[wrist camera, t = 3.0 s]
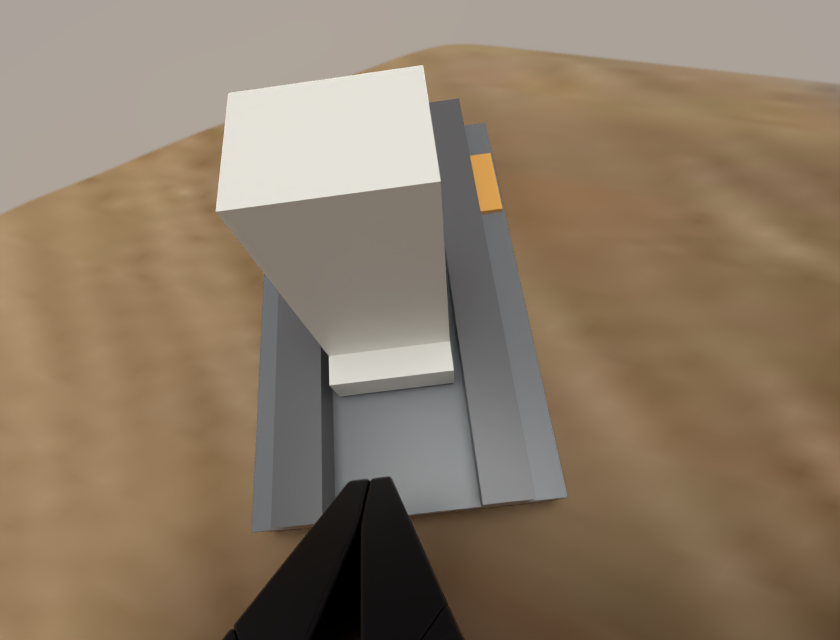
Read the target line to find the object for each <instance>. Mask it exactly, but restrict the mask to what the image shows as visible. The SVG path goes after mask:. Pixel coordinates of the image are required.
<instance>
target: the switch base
mask: <svg viewBox="0 0 840 640" xmlns="http://www.w3.org/2000/svg"><path fill="white" fill-rule="evenodd" d="M429 108H430V114H431V121H432V127H433V134H434V140H435V147H436V153H437V160H438V166H439V173H440V179H441V194H442V211H443V229H444V247H445V265H446V282H447V300H448V318H449V336H450V346H451V353H452V361H453V368H454V383H448V384H440V385H432V386H423V387H415V388H407V389H398V390H390V391H382V392H374V393H365V394H357V395H349V396H341V397H340V396H339V395H338V394H337V393H336V392H335V391H334V390H333V389H332V388H331V387H330V386H329V356H328V354H327V353H326V352H325V351H324V349H323V348H322V347H321V345H320V344H319V343H318V342H317V340H316V339H315V338H314V337H313V335H312V334H311V333H310V331H309V330H308V329H307V328H306V326H305V325H304V324H303V322H302V321H301V320H300V319H299V317H298V316H297V315H296V314H295V312H294V311H293V310H292V308H291V307H290V306H289V305H288V303H287V302H286V301H285V300H284V298H283V297H282V296H281V294H280V293H279V292H278V291H277V289H276V288H275V287H274V285H273V284H272V283H271V282H270V280H269V279H268V278H267V277H266V275H265V274H264V286H263V306H262V327H261V348H260V369H259V389H258V410H257V431H256V451H255V472H254V493H253V514H252V532H272V531H283V530H292V529H301V528H310V527H313V525H314V524H315V523H316V522H317V520H318V519H319V518H320V517H321V515H322V514H323V513H324V512H325V510H326V509H327V508H328V507H329V505H330V504H331V503H332V502H333V500H334V499H335V498H336V497H337V495H338V494H339V493H340V492H341V490H342V489H343V488H344V487H345V485H346V484H347V483H348V482H349V481H352V480H360V479H369V480H370V481H371V479H373V478H377V477H386V476H390V477H391V478H392V479H393V482H394V484H395V486H396V488H397V491H398V493H399V495H400V497H401V500H402V502H403V504H404V506H405V509H406V511H407V513H408V515H409V516H417V515H426V514H435V513H444V512H453V511H462V510H471V509H480V508H488V507H497V506H506V505H515V504H524V503H533V502H542V501H551V500H557V499H561V498H565V497H567V492H566V488H565V483H564V479H563V474H562V470H561V465H560V460H559V456H558V451H557V447H556V442H555V438H554V433H553V429H552V424H551V420H550V415H549V410H548V406H547V401H546V397H545V392H544V388H543V383H542V379H541V374H540V370H539V365H538V361H537V356H536V351H535V347H534V342H533V338H532V333H531V329H530V324H529V320H528V315H527V311H526V306H525V302H524V297H523V292H522V288H521V283H520V279H519V274H518V270H517V265H516V261H515V256H514V252H513V247H512V242H511V238H510V233H509V229H508V224H507V220H506V215H505V211H504V206H503V202H502V197H501V193H500V188H499V183H498V179H497V174H496V170H495V165H494V161H493V156H492V152H491V147H490V143H489V138H488V134H487V129H486V124H485V123H481V124H474V125H466V126H464V122H463V117H462V112H461V107H460V102H459V99H452V100H445V101H438V102H431V103H429Z"/></svg>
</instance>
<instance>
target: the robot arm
mask: <svg viewBox="0 0 840 640" xmlns="http://www.w3.org/2000/svg"><path fill="white" fill-rule="evenodd" d="M222 640H465V639H464V637H463V635H462V633H461V631H460V629H459V627H458V625H457V622H456V620H455V618H454V616H453V613H452V611H451V609H450V607H448V603H447V601H446V598H445V596H444V594H443V592H442V589H441V587H440V585H439V583H438V580H437V578H436V576H435V574H434V571H433V569H432V567H431V565H430V562H429V560H428V558H427V556H426V553H425V551H424V549H423V547H422V544H421V542H420V540H419V538H418V536H417V533H416V531H415V529H414V527H413V524H412V522H411V520H410V518H409V515H408V513H407V511H406V509H405V506H404V504H403V502H402V500H401V497H400V495H399V493H398V491H397V488H396V486H395V484H394V482H393V479H392V478H391V477H390V476H386V477H377V478H373V479H371V481H370V480H369V479H360V480H352V481H349V482H348V483H347V484H346V485H345V487H344V488H343V489H342V490H341V492H340V493H339V494H338V495H337V497H336V498H335V499H334V500H333V502H332V503H331V504H330V505H329V507H328V508H327V509H326V510H325V512H324V513H323V514H322V515H321V517H320V518H319V519H318V520H317V522H316V523H315V524H314V525H313V527H312V528H311V529H310V530H309V532H308V533H307V534H306V535H305V537H304V538H303V539H302V540H301V542H300V543H299V544H298V545H297V547H296V548H295V549H294V550H293V552H292V553H291V554H290V555H289V557H288V558H287V559H286V560H285V562H284V563H283V564H282V565H281V567H280V568H279V569H278V570H277V572H276V573H275V574H274V576H273V577H272V578H271V579H270V581H269V582H268V583H267V584H266V586H265V587H264V588H263V589H262V591H261V592H260V593H259V594H258V596H257V597H256V598H255V599H254V601H253V602H252V603H251V604H250V606H249V607H248V608H247V609H246V611H245V612H244V613H243V614H242V616H241V617H240V618H239V619H238V621H237V622H236V623H235V624H234V629H231V630H229V632H228V633H227V634H226V635H225V637H224V638H223V639H222Z"/></svg>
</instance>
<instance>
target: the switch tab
mask: <svg viewBox="0 0 840 640" xmlns="http://www.w3.org/2000/svg"><path fill="white" fill-rule="evenodd" d="M216 213H217V214H218V215H219V217H220V218H221V219H222V220H223V222H224V223H225V224H226V225H227V227H228V228H229V229H230V231H231V232H232V233H233V234H234V236H235V237H236V238H237V240H238V241H239V242H240V243H241V245H242V246H243V247H244V248H245V250H246V251H247V252H248V254H249V255H250V256H251V257H252V259H253V260H254V261H255V262H256V264H257V265H258V266H259V268H260V269H261V270H262V271H263V273H264V274H265V275H266V277H267V278H268V279H269V280H270V282H271V283H272V284H273V285H274V287H275V288H276V289H277V291H278V292H279V293H280V294H281V296H282V297H283V298H284V300H285V301H286V302H287V303H288V305H289V306H290V307H291V308H292V310H293V311H294V312H295V314H296V315H297V316H298V317H299V319H300V320H301V321H302V322H303V324H304V325H305V326H306V328H307V329H308V330H309V331H310V333H311V334H312V335H313V337H314V338H315V339H316V340H317V342H318V343H319V344H320V345H321V347H322V348H323V349H324V351H325V352H326V353H327V354H328V356H329V386H330V387H331V388H332V389H333V390H334V391H335V392H336V393H337V394H338V395H339V396H340V397H341V396H349V395H357V394H365V393H374V392H382V391H390V390H398V389H407V388H415V387H423V386H432V385H440V384H448V383H454V368H453V361H452V353H451V346H450V336H449V318H448V300H447V282H446V265H445V247H444V229H443V211H442V194H441V179H440V173H439V166H438V160H437V153H436V147H435V140H434V134H433V127H432V121H431V114H430V108H429V101H428V95H427V88H426V81H425V75H424V68H423V65H421V66H414V67H407V68H400V69H393V70H386V71H379V72H372V73H365V74H358V75H351V76H344V77H337V78H330V79H323V80H317V81H310V82H302V83H295V84H288V85H281V86H275V87H267V88H261V89H253V90H247V91H239V92H233V93H228V102H227V111H226V120H225V129H224V139H223V148H222V157H221V167H220V176H219V186H218V195H217V204H216Z"/></svg>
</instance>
